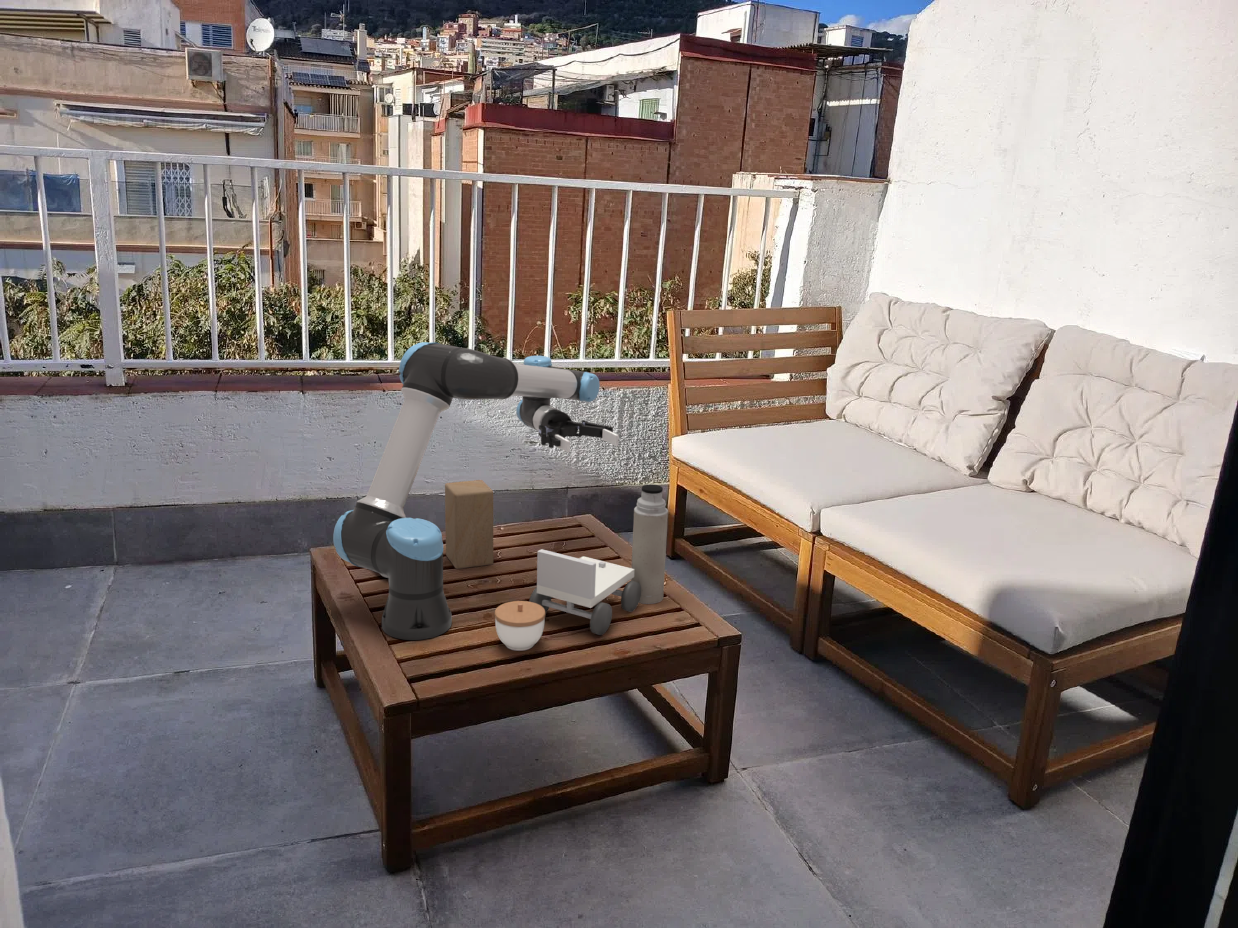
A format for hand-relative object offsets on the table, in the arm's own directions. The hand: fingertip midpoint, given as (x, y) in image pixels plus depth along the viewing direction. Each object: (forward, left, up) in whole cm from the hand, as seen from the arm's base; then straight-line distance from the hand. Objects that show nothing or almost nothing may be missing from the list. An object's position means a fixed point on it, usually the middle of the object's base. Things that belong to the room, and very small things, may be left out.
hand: (593, 443), depth 238 cm
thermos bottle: (-5, -19, -34) cm, 39 cm away
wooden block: (-10, +30, -34) cm, 47 cm away
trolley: (-20, -11, -34) cm, 41 cm away
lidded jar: (-41, -7, -34) cm, 54 cm away
